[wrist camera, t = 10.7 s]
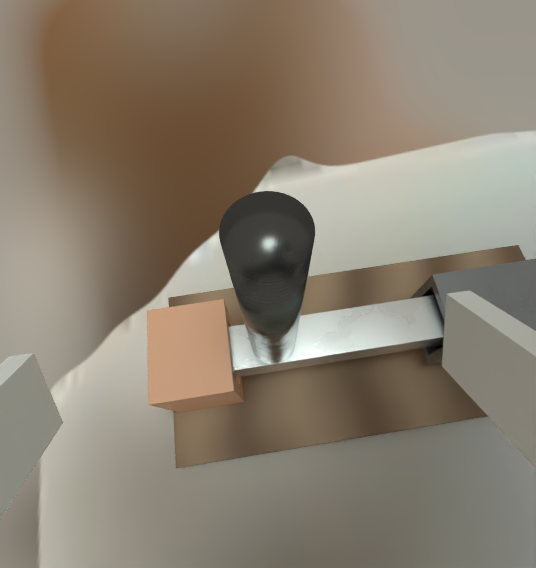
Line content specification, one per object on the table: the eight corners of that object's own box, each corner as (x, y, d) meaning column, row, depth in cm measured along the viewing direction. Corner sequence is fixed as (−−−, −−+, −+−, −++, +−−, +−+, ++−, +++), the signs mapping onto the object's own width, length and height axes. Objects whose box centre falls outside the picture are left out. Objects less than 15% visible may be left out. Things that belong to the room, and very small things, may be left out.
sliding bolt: (451, 303, 22) (673, 133, 10) (465, 341, 21) (731, 204, 9) (185, 345, 22) (57, 220, 9) (187, 385, 21) (48, 306, 8)
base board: (510, 251, 27) (518, 245, 26) (581, 399, 23) (594, 398, 22) (172, 302, 26) (168, 297, 26) (180, 467, 22) (176, 468, 21)
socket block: (235, 329, 24) (223, 298, 19) (244, 402, 23) (233, 390, 17) (176, 338, 24) (147, 310, 19) (179, 412, 22) (148, 404, 17)
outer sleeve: (511, 291, 25) (571, 253, 20) (538, 349, 23) (611, 324, 18) (400, 308, 25) (432, 274, 20) (419, 368, 23) (459, 349, 18)
